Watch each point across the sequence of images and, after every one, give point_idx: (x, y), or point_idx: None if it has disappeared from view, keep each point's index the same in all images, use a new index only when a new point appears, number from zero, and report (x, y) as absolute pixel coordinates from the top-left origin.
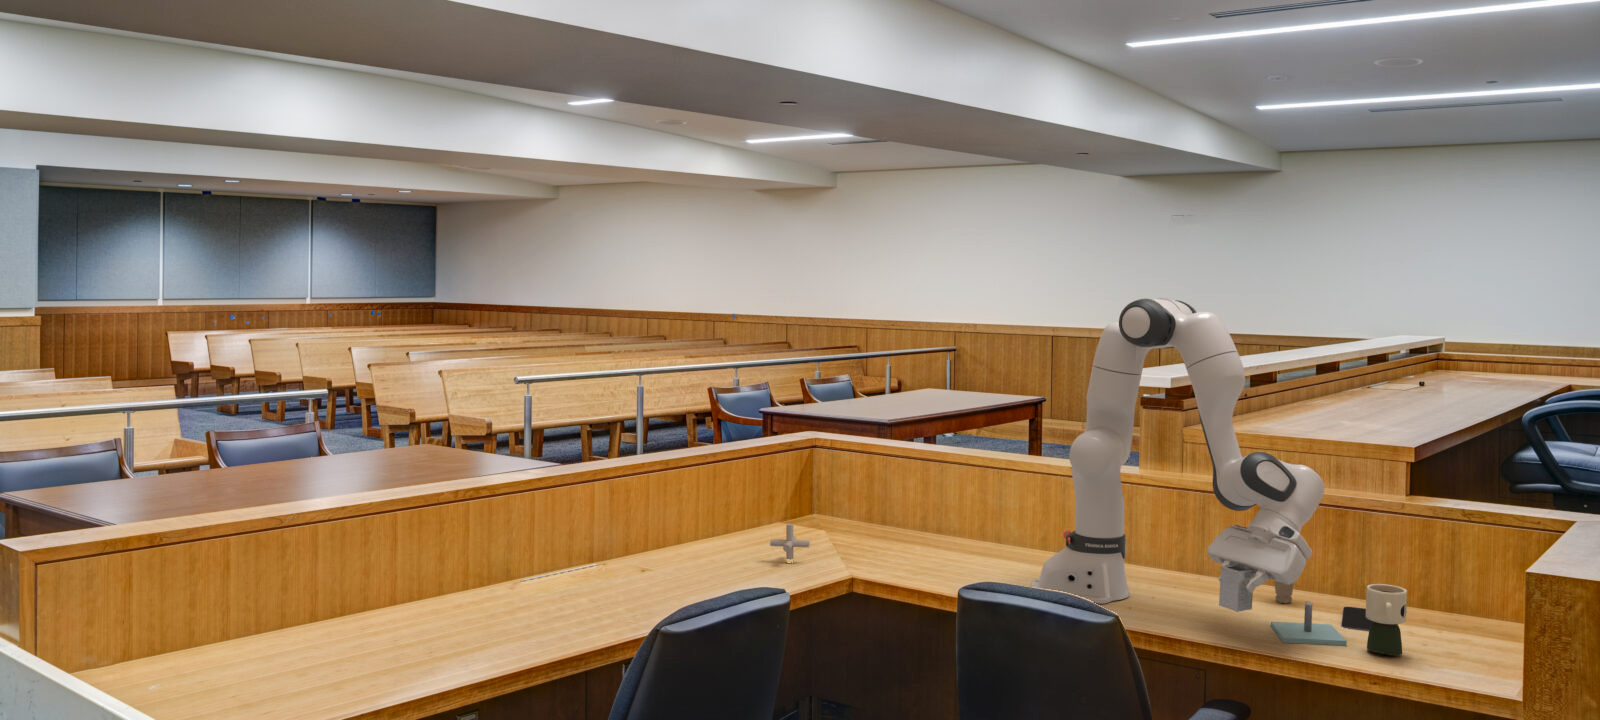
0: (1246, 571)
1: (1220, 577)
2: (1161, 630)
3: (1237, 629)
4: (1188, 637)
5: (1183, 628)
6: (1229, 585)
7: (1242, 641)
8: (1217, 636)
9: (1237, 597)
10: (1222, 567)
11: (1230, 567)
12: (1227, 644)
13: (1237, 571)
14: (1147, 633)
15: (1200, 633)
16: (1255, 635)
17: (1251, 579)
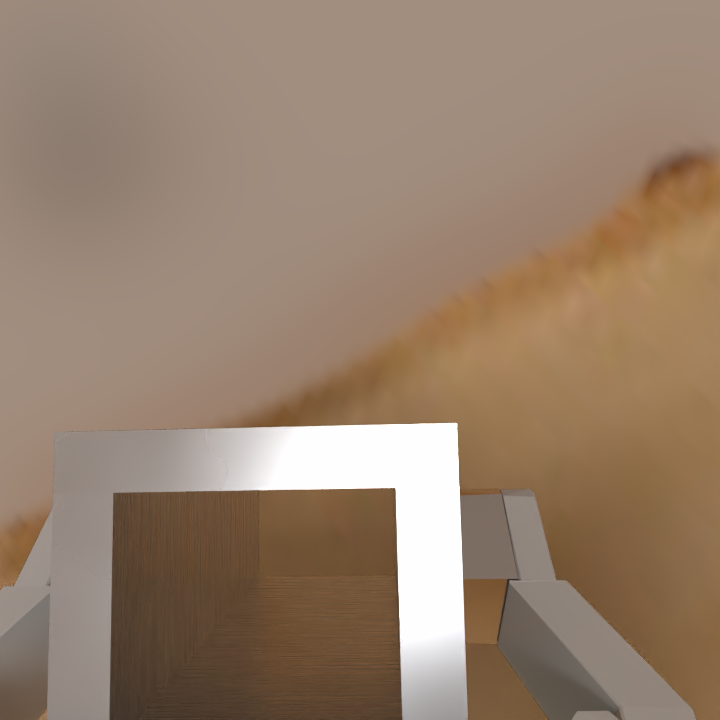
0: (51, 612)
1: (511, 501)
2: (684, 272)
3: (510, 705)
4: (518, 315)
5: (663, 416)
6: (292, 426)
7: (327, 540)
8: (460, 481)
9: (199, 428)
10: (426, 425)
11: (400, 596)
12: (327, 418)
13: (116, 453)
14: (672, 163)
15: (546, 434)
16: None
17: (27, 604)
